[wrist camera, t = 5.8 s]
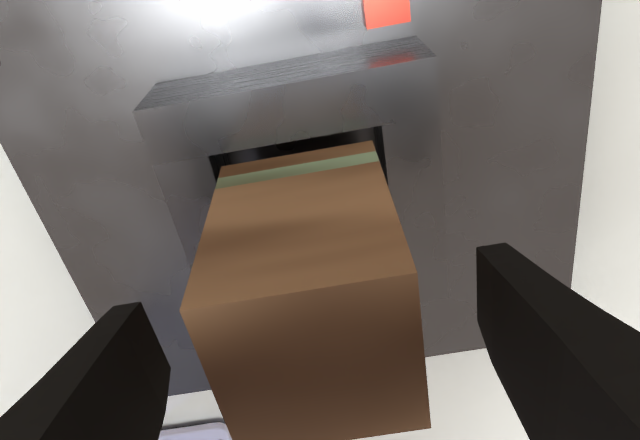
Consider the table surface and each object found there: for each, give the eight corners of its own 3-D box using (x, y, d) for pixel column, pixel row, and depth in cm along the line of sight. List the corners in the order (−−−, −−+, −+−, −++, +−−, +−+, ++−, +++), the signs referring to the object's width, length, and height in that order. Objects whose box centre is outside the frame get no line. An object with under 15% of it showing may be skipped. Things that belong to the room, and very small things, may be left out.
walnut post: (387, 263, 15) (431, 428, 10) (256, 284, 15) (238, 456, 11) (372, 140, 13) (417, 272, 8) (221, 166, 13) (179, 310, 9)
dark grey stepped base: (554, 319, 22) (596, 384, 19) (142, 382, 23) (119, 454, 20) (605, -233, 12) (704, -280, 9) (-96, -88, 13) (-209, -89, 10)
